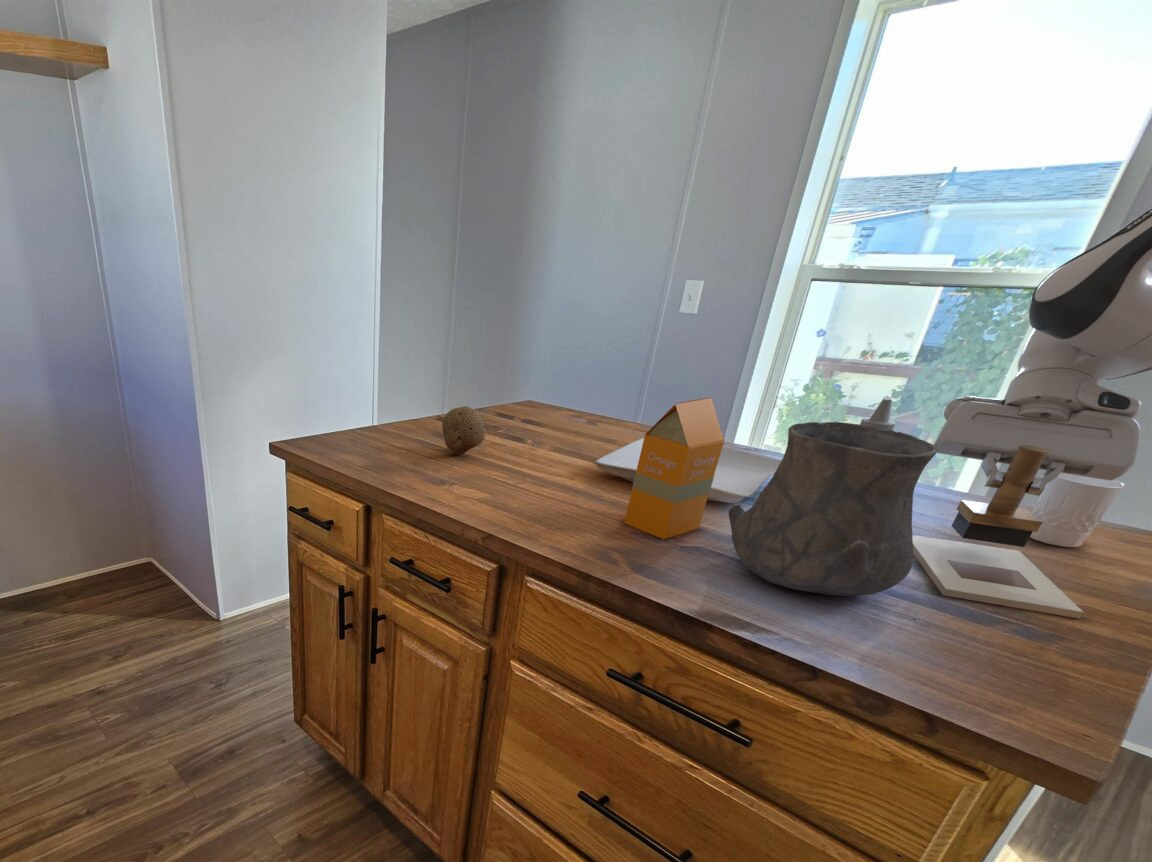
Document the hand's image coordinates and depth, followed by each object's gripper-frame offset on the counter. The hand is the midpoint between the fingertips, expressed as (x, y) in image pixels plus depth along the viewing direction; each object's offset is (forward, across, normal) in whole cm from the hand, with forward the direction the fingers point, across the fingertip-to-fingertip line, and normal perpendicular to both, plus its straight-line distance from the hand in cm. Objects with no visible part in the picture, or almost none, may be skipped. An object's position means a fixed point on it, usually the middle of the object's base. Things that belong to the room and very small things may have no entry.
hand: (1013, 489), depth 91 cm
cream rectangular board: (+12, +1, +4) cm, 12 cm away
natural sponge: (+12, -84, +5) cm, 85 cm away
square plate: (0, -43, +16) cm, 46 cm away
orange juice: (+20, -40, -4) cm, 45 cm away
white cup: (-5, +10, +21) cm, 24 cm away
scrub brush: (+5, 0, +6) cm, 7 cm away
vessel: (+24, -20, -8) cm, 32 cm away
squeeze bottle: (-4, -18, +20) cm, 27 cm away
